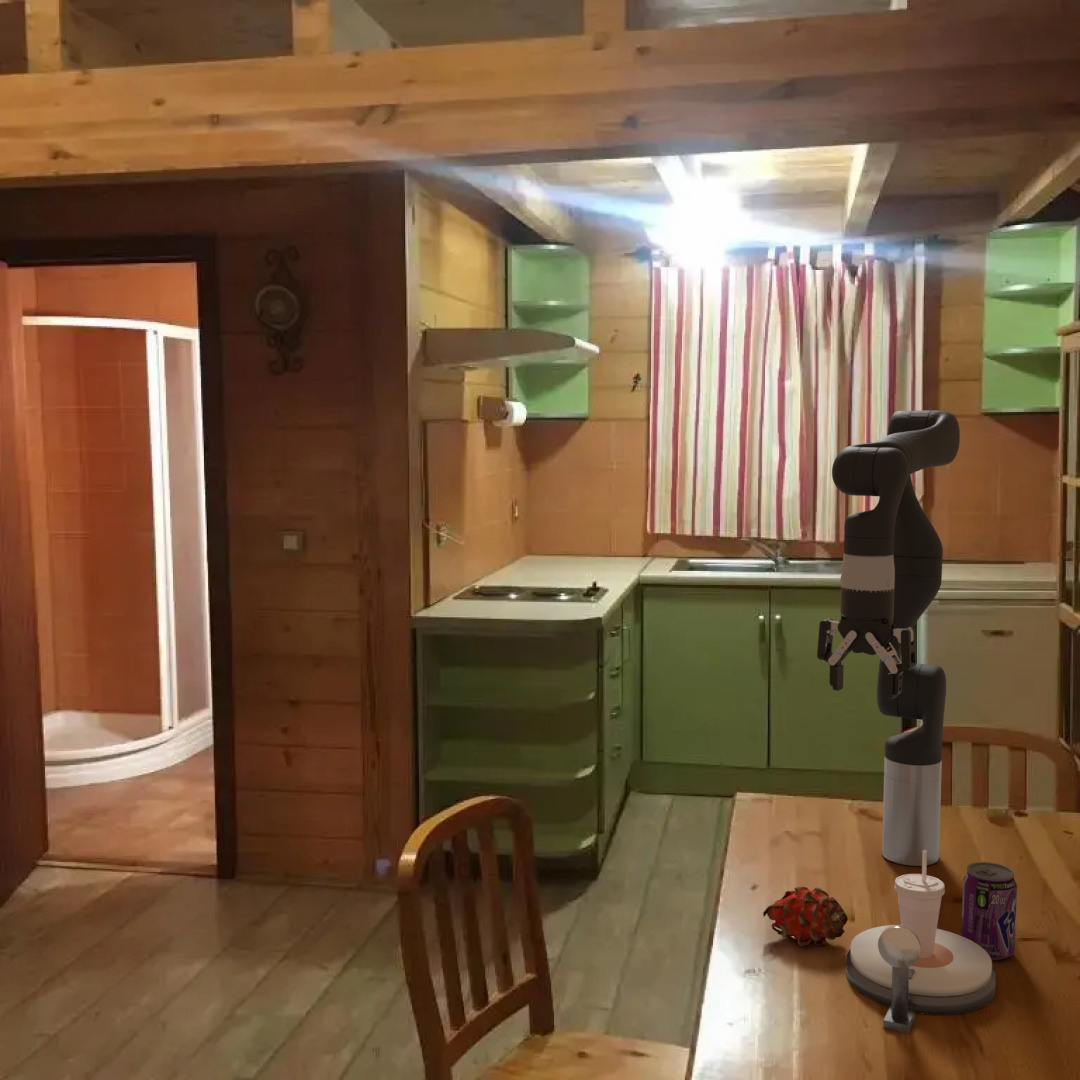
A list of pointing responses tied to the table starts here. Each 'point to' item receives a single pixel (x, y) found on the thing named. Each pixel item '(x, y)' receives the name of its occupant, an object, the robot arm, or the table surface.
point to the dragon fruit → (807, 916)
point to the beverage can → (990, 908)
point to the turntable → (927, 964)
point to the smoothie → (920, 905)
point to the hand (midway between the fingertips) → (864, 693)
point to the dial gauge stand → (899, 973)
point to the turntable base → (920, 1002)
